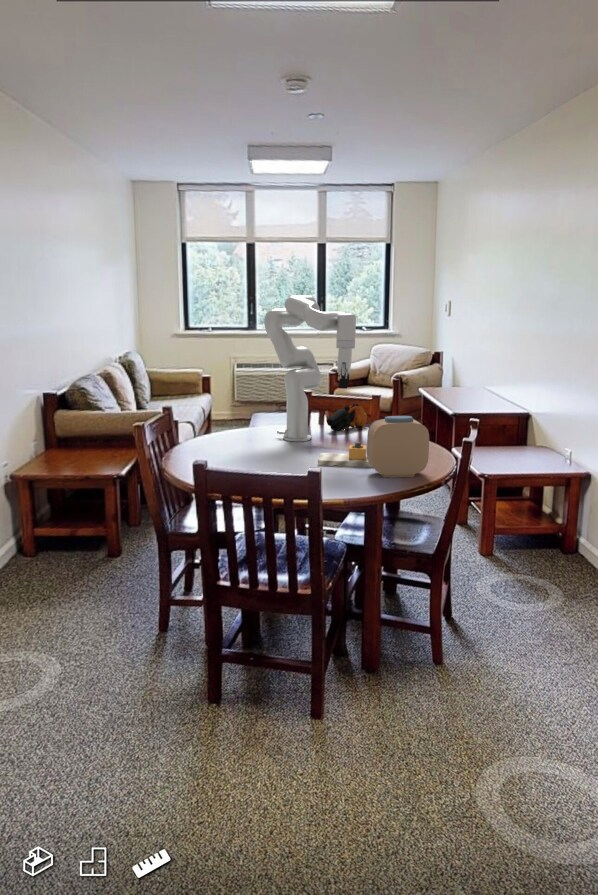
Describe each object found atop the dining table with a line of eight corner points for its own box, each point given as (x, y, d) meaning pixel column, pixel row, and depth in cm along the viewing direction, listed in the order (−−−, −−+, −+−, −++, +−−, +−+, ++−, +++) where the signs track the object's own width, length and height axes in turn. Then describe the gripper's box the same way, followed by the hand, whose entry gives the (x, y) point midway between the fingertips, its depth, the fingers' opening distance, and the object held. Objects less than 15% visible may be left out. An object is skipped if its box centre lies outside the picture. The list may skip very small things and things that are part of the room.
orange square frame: (348, 458, 266) (349, 448, 265) (349, 454, 272) (350, 444, 271) (365, 459, 265) (365, 449, 264) (366, 455, 271) (366, 445, 270)
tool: (330, 444, 331) (322, 417, 324) (359, 421, 343) (352, 394, 336) (342, 447, 325) (334, 419, 318) (372, 423, 338) (364, 396, 331)
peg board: (317, 465, 265) (318, 445, 263) (320, 457, 276) (321, 438, 275) (375, 467, 262) (375, 446, 260) (375, 459, 274) (376, 440, 272)
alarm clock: (419, 470, 258) (422, 413, 253) (427, 476, 249) (430, 418, 244) (366, 471, 256) (367, 414, 251) (372, 478, 246) (373, 419, 241)
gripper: (338, 341, 285) (336, 382, 290) (334, 346, 269) (333, 389, 273) (356, 342, 284) (354, 383, 289) (353, 347, 268) (351, 390, 272)
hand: (344, 386), depth 281 cm, fingers open, 9 cm apart
